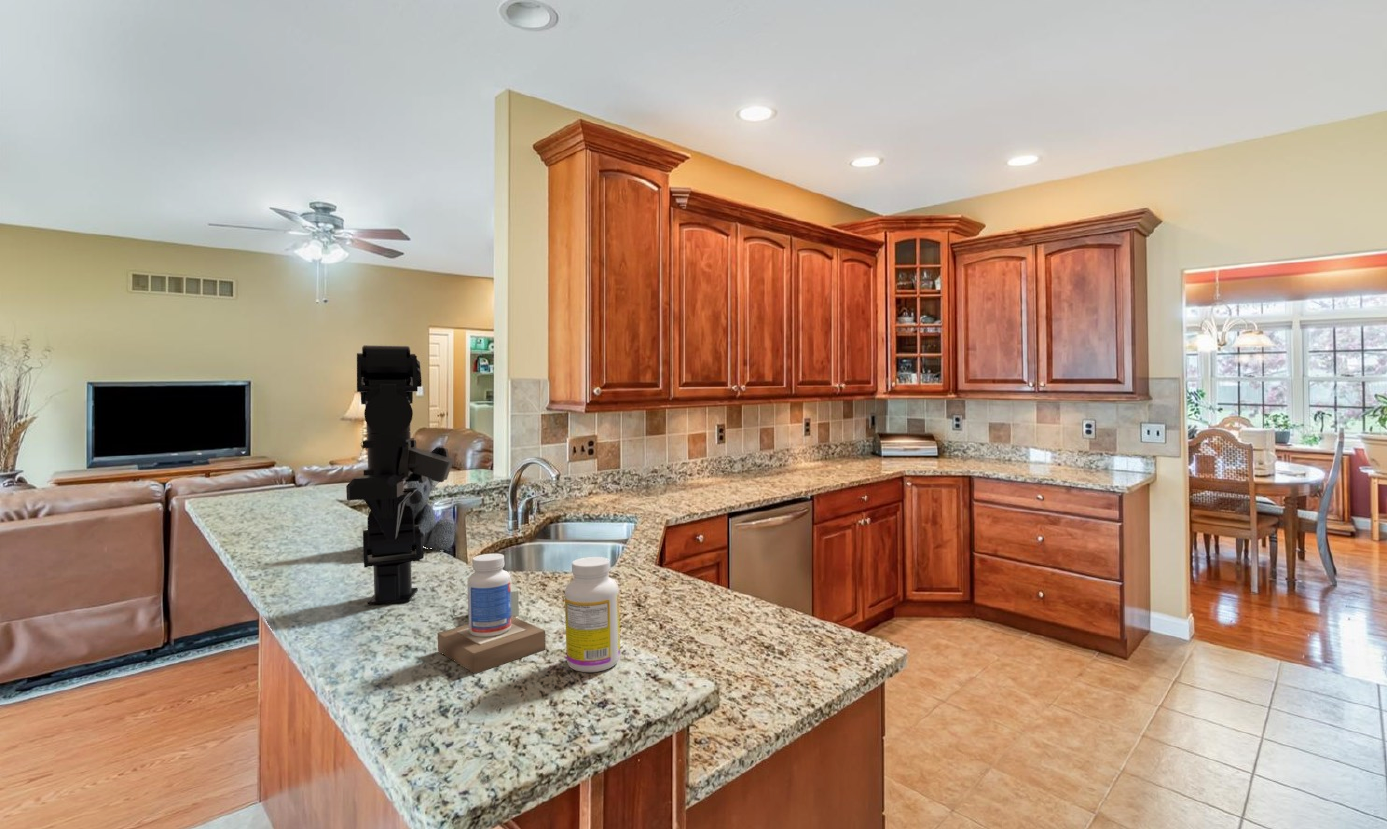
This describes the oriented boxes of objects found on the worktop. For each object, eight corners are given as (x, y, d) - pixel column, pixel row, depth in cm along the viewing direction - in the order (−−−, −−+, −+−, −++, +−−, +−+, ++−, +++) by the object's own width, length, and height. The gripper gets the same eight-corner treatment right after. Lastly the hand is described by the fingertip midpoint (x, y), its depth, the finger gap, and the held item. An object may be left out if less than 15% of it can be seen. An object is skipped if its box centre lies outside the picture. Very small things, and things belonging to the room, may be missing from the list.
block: (479, 612, 99) (479, 587, 99) (512, 607, 102) (511, 582, 102) (484, 622, 95) (484, 596, 95) (518, 616, 97) (518, 590, 97)
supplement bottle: (590, 648, 84) (588, 552, 84) (630, 658, 81) (628, 558, 80) (554, 667, 78) (552, 564, 78) (596, 679, 75) (594, 571, 75)
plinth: (438, 651, 84) (437, 631, 84) (506, 630, 91) (506, 612, 91) (474, 674, 77) (473, 652, 77) (545, 649, 84) (545, 629, 84)
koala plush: (372, 562, 131) (369, 468, 131) (359, 546, 146) (356, 461, 145) (458, 549, 141) (456, 461, 141) (438, 535, 156) (435, 456, 155)
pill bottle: (518, 630, 84) (517, 557, 83) (478, 641, 80) (476, 564, 80) (501, 620, 88) (499, 549, 87) (462, 629, 84) (460, 556, 84)
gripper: (434, 434, 84) (437, 551, 85) (458, 428, 103) (461, 524, 103) (343, 436, 82) (346, 556, 83) (384, 429, 100) (387, 528, 101)
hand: (392, 539), depth 92 cm, fingers closed
